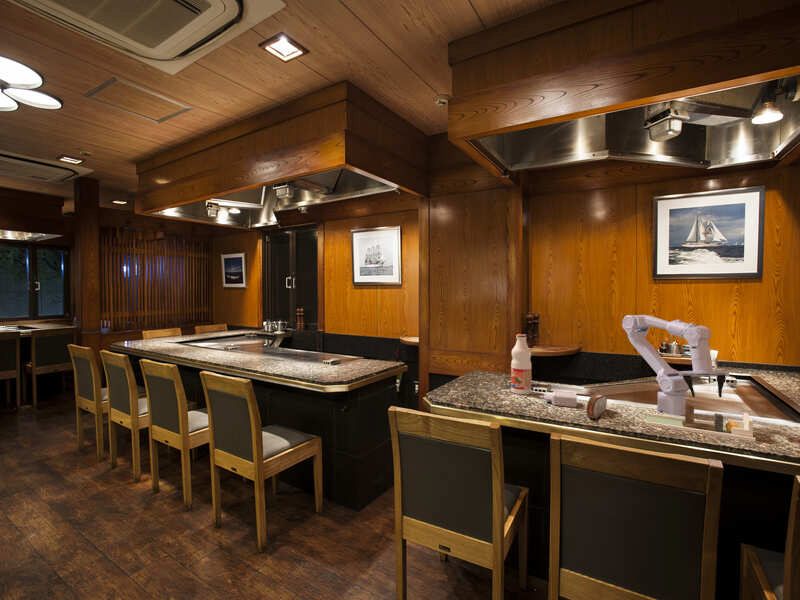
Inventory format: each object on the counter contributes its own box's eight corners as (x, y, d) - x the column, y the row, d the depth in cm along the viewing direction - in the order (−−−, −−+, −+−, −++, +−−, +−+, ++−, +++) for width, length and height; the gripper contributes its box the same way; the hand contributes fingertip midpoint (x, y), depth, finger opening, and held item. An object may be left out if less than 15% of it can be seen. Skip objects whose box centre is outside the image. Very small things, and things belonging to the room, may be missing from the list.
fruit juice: (533, 395, 188) (534, 335, 187) (513, 394, 188) (513, 335, 188) (528, 390, 197) (528, 333, 197) (508, 389, 198) (509, 333, 197)
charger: (540, 399, 181) (576, 403, 175) (538, 404, 173) (576, 408, 167) (540, 388, 181) (576, 392, 175) (538, 393, 173) (576, 397, 167)
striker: (682, 426, 138) (682, 404, 138) (682, 422, 142) (682, 402, 142) (723, 432, 132) (723, 410, 132) (721, 428, 136) (721, 406, 136)
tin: (600, 411, 162) (600, 391, 162) (608, 413, 159) (608, 392, 159) (585, 419, 151) (585, 397, 151) (594, 421, 149) (594, 399, 149)
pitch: (644, 428, 141) (644, 407, 141) (646, 419, 152) (646, 399, 152) (755, 446, 125) (755, 422, 125) (748, 434, 135) (748, 412, 135)
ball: (742, 427, 130) (737, 436, 131) (740, 424, 133) (735, 433, 134) (729, 421, 132) (724, 430, 133) (727, 418, 135) (722, 427, 136)
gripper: (676, 360, 147) (682, 397, 145) (727, 358, 139) (733, 398, 137) (677, 359, 153) (682, 395, 151) (725, 357, 144) (731, 396, 143)
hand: (706, 396), depth 144 cm, fingers open, 7 cm apart
